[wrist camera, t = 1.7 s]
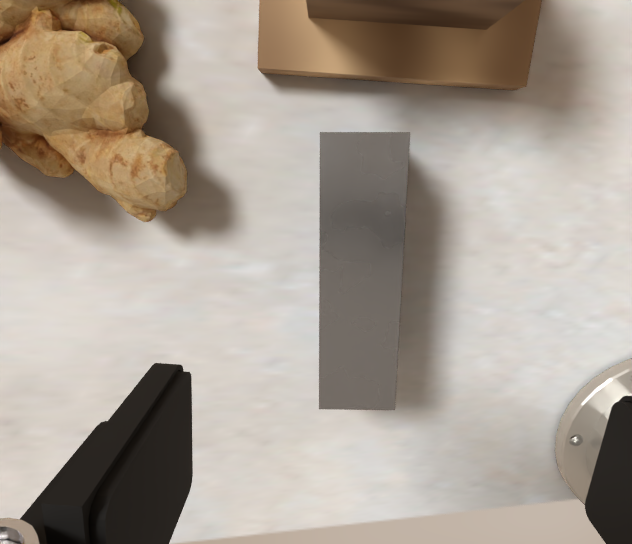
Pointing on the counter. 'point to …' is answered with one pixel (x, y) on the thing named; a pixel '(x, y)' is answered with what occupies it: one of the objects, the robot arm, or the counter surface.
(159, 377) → the robot arm
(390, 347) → the bracket bar
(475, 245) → the counter surface
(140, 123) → the ginger root
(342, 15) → the post rig
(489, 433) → the counter surface
